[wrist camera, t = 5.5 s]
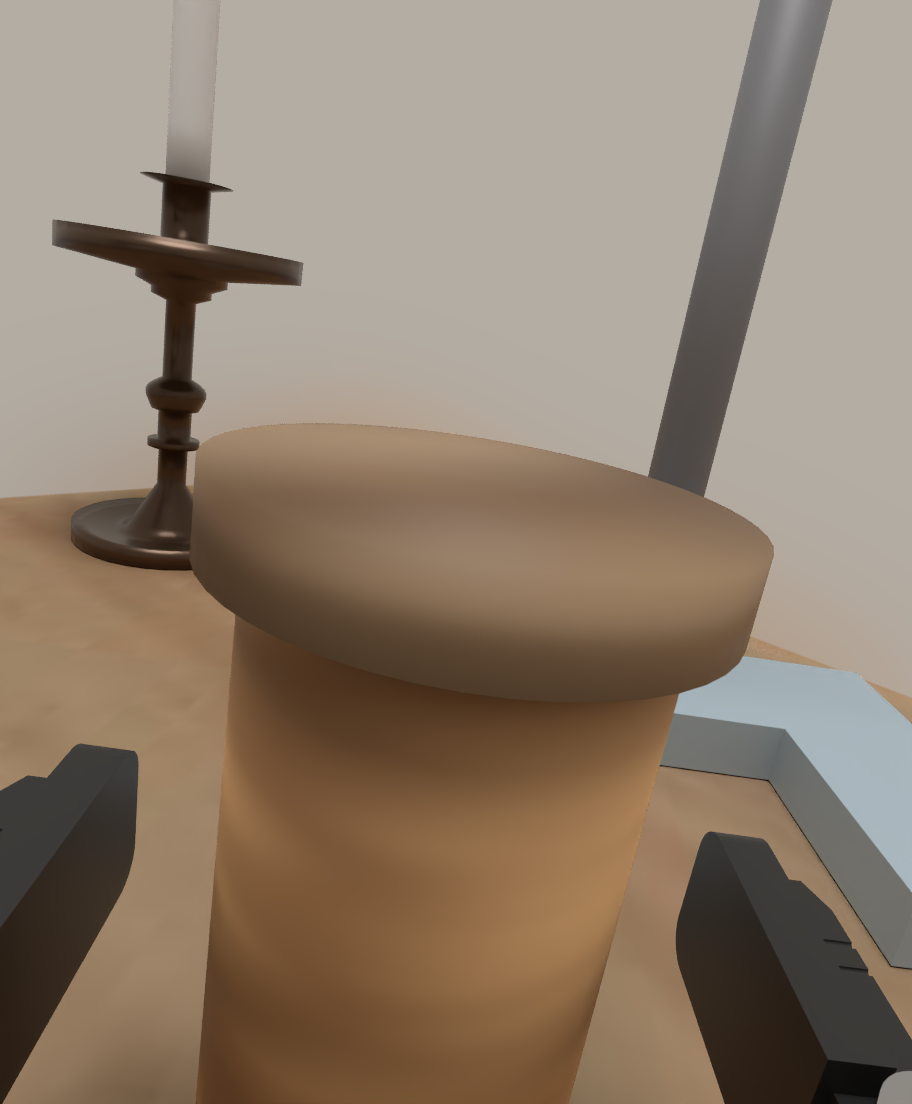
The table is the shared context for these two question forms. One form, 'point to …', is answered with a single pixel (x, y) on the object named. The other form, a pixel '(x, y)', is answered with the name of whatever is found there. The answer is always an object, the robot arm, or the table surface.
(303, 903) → the cord spool
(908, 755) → the hook stand
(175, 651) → the table surface
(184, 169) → the candlestick
